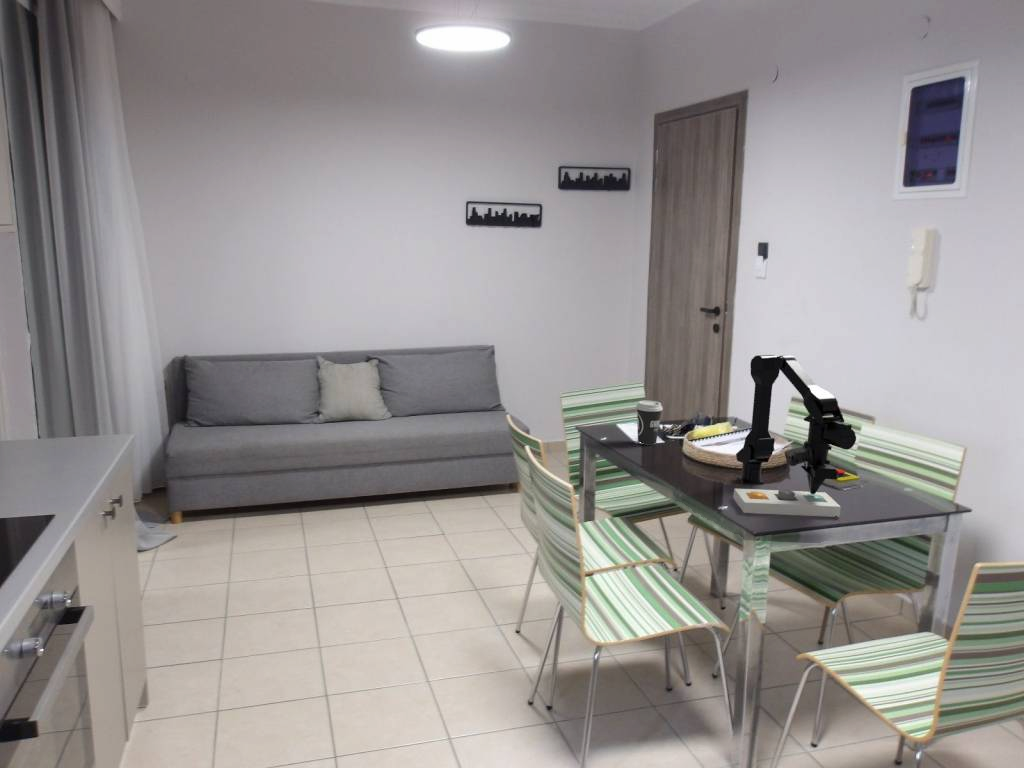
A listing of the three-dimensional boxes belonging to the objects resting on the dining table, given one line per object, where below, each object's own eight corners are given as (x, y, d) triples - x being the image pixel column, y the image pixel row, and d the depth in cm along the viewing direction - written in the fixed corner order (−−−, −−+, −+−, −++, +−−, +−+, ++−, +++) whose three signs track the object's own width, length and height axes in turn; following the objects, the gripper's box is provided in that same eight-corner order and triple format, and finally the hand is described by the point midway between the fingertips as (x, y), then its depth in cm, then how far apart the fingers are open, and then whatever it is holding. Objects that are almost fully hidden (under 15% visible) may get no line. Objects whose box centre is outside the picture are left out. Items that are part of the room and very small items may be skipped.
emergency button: (844, 478, 241) (806, 464, 254) (843, 492, 242) (804, 477, 255) (865, 474, 245) (827, 461, 258) (864, 488, 246) (825, 474, 259)
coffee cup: (645, 448, 282) (647, 406, 279) (628, 441, 290) (630, 401, 287) (665, 445, 286) (668, 404, 284) (648, 438, 294) (651, 399, 292)
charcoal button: (775, 497, 226) (776, 489, 226) (791, 498, 226) (792, 490, 226) (780, 503, 222) (781, 494, 221) (796, 503, 222) (796, 495, 221)
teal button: (803, 502, 226) (804, 493, 226) (819, 502, 226) (820, 494, 225) (808, 507, 222) (809, 498, 221) (824, 508, 222) (825, 499, 221)
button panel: (733, 498, 231) (734, 488, 230) (824, 502, 230) (825, 492, 229) (743, 512, 219) (744, 502, 218) (839, 517, 218) (840, 506, 217)
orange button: (746, 499, 227) (747, 491, 226) (762, 500, 226) (763, 491, 226) (750, 504, 222) (751, 496, 222) (766, 505, 222) (767, 496, 222)
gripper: (779, 430, 230) (774, 482, 234) (799, 448, 212) (793, 503, 215) (818, 432, 230) (812, 483, 233) (842, 449, 212) (835, 505, 215)
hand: (812, 493), depth 224 cm, fingers closed
